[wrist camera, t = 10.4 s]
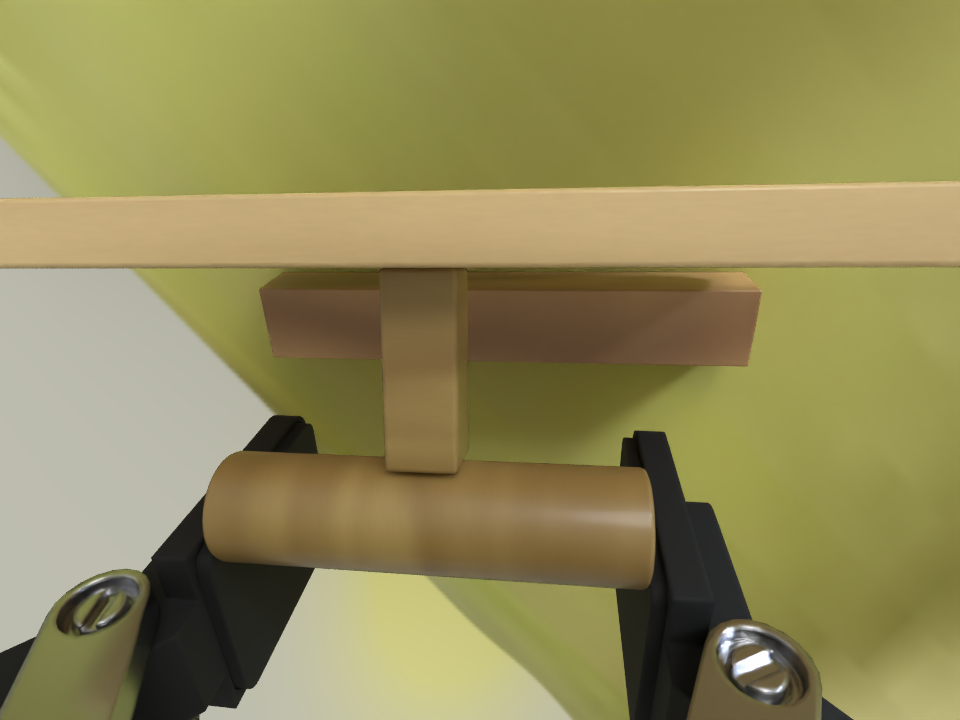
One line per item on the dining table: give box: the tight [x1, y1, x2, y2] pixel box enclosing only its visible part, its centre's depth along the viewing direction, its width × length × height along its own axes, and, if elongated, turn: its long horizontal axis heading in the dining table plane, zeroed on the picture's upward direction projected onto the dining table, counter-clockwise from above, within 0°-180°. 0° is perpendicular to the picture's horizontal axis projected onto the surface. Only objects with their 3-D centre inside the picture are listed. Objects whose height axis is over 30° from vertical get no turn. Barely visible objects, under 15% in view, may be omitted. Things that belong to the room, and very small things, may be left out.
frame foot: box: [259, 272, 762, 366], centre depth 18 cm, size 2×15×2 cm, turn 92°
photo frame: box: [0, 181, 960, 590], centre depth 12 cm, size 12×14×5 cm
